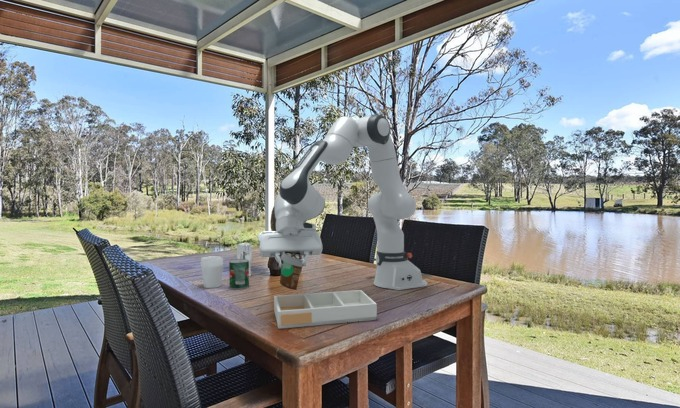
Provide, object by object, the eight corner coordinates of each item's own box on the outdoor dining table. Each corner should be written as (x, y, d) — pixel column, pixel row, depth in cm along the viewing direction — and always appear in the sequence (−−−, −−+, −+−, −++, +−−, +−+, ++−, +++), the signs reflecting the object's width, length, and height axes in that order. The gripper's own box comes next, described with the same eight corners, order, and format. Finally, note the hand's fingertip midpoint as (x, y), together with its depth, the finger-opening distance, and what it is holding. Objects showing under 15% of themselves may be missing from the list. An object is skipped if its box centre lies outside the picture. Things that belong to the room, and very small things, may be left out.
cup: (196, 287, 155) (195, 258, 155) (211, 282, 164) (210, 255, 163) (213, 290, 152) (213, 260, 151) (228, 284, 160) (227, 256, 160)
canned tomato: (225, 287, 156) (225, 260, 156) (242, 283, 162) (242, 258, 162) (236, 290, 151) (235, 263, 150) (253, 286, 157) (252, 260, 156)
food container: (275, 274, 125) (281, 245, 123) (294, 277, 126) (300, 248, 124) (276, 289, 113) (282, 257, 111) (296, 291, 114) (303, 260, 112)
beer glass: (248, 277, 172) (248, 245, 172) (234, 277, 174) (233, 244, 173) (254, 274, 179) (254, 243, 178) (241, 273, 180) (240, 242, 180)
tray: (361, 304, 133) (361, 289, 133) (377, 320, 116) (377, 304, 116) (274, 310, 126) (274, 295, 125) (278, 329, 109) (278, 312, 109)
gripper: (257, 225, 122) (259, 261, 113) (320, 224, 127) (326, 258, 118) (257, 237, 126) (258, 273, 117) (317, 235, 131) (323, 269, 122)
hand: (292, 265), depth 118 cm, fingers closed on food container, 5 cm apart
